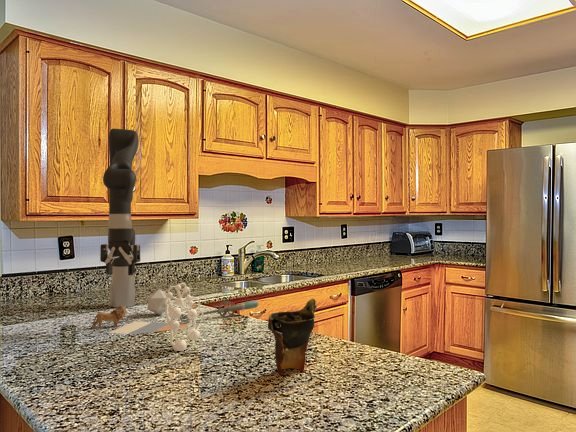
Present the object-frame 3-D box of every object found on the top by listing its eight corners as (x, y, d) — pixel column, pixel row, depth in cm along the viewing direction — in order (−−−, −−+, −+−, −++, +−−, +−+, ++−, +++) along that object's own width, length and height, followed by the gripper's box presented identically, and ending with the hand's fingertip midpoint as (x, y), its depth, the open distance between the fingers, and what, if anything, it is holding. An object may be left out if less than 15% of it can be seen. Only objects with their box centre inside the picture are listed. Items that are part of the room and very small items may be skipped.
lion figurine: (125, 324, 165) (125, 304, 165) (127, 327, 162) (127, 306, 162) (88, 328, 159) (88, 307, 159) (90, 331, 156) (90, 309, 156)
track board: (89, 332, 154) (89, 331, 154) (117, 321, 170) (117, 320, 170) (167, 337, 148) (167, 336, 148) (188, 325, 164) (188, 324, 164)
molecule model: (196, 272, 134) (186, 271, 136) (159, 298, 123) (149, 296, 126) (213, 329, 140) (203, 327, 143) (179, 359, 130) (169, 356, 132)
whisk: (174, 331, 171) (170, 313, 172) (250, 315, 189) (246, 299, 190) (183, 326, 162) (180, 307, 164) (262, 310, 180) (258, 293, 182)
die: (164, 318, 175) (164, 291, 175) (143, 317, 177) (143, 290, 177) (174, 313, 184) (174, 287, 184) (153, 312, 185) (153, 287, 185)
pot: (297, 363, 123) (297, 295, 123) (332, 372, 116) (332, 300, 116) (251, 381, 110) (251, 305, 110) (289, 393, 103) (289, 311, 103)
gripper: (94, 227, 158) (95, 275, 158) (132, 227, 155) (133, 276, 155) (108, 226, 165) (108, 273, 165) (144, 226, 162) (144, 274, 162)
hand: (120, 274), depth 160 cm, fingers open, 7 cm apart
